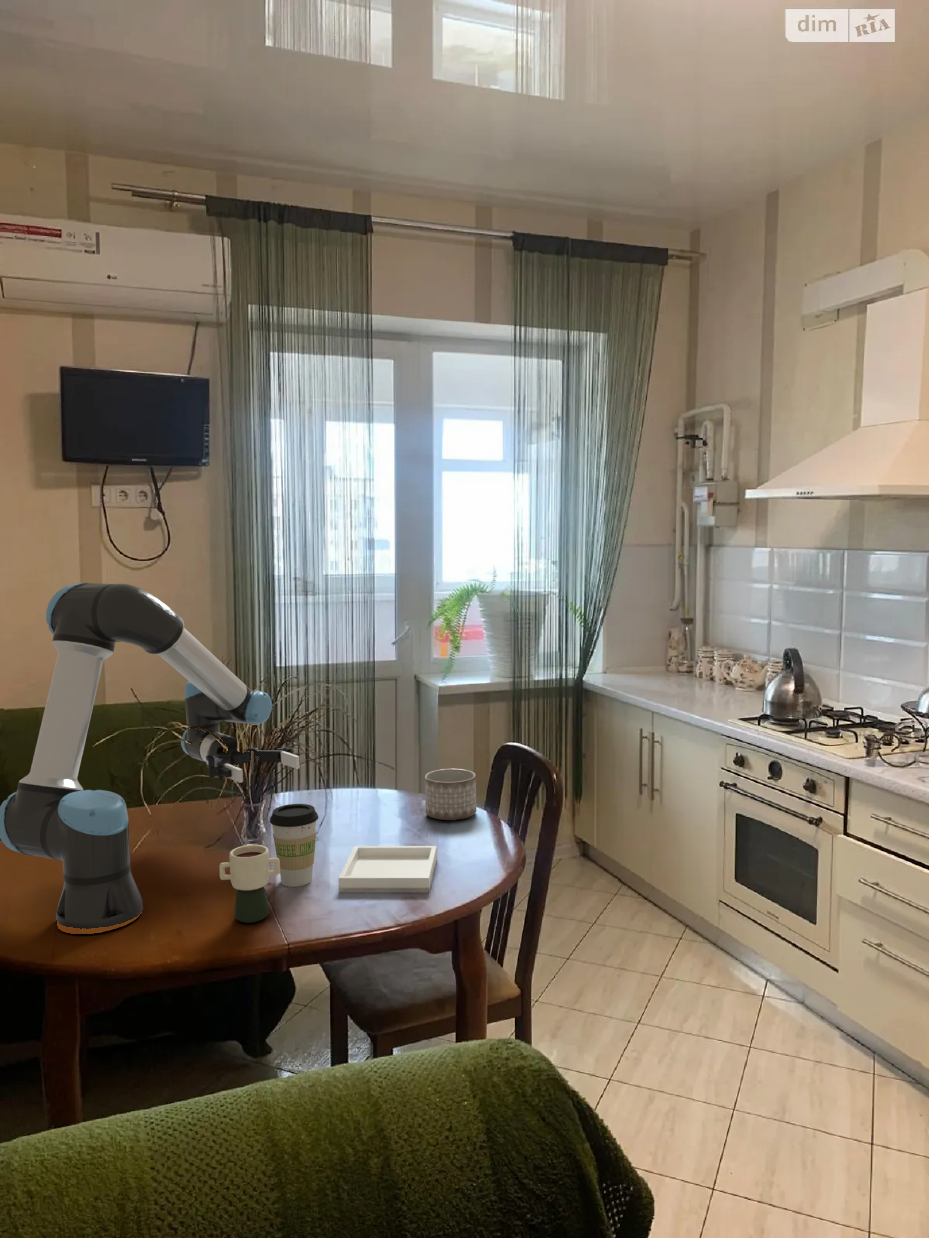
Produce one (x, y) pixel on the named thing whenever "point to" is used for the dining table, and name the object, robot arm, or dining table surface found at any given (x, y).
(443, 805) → the planter
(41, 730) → the robot arm
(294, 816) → the coffee cup
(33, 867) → the dining table surface
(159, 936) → the dining table surface
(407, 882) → the tray
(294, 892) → the dining table surface
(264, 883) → the character mug
